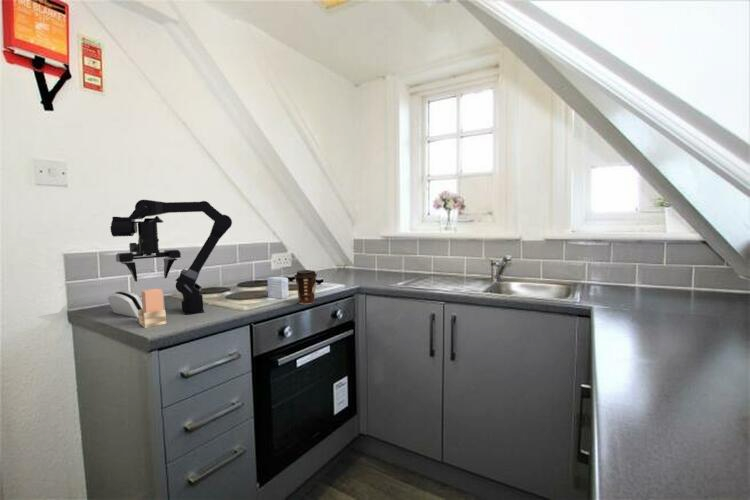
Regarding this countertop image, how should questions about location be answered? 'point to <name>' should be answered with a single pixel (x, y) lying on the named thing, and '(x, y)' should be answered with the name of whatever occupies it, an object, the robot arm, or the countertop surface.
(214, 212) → the robot arm
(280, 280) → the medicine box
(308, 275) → the coffee cup
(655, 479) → the countertop surface
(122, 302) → the white dark-banded wedge
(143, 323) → the tan wooden block
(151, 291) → the peach tall block
